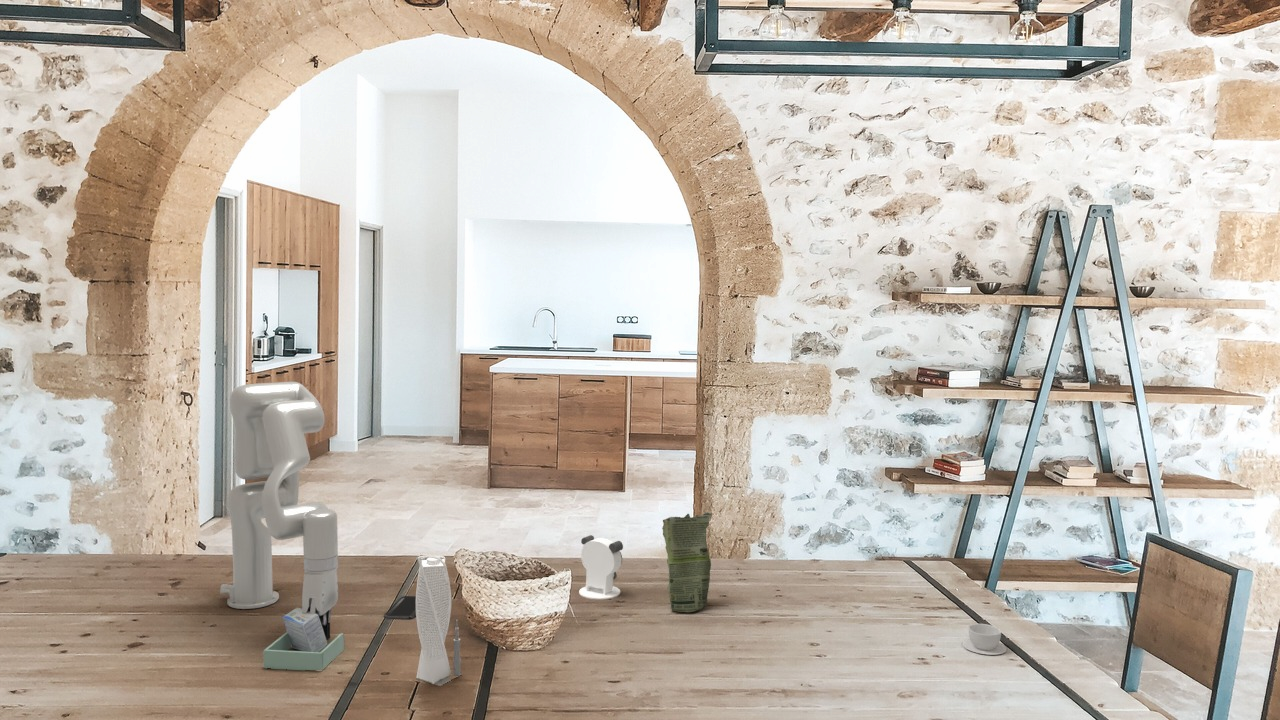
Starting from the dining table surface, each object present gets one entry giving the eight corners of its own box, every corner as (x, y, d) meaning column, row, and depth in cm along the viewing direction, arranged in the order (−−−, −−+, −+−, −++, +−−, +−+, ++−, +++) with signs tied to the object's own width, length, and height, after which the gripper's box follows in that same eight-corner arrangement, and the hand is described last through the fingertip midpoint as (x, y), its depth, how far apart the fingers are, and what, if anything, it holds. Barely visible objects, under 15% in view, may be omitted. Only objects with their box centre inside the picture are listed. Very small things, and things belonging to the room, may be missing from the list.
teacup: (985, 659, 215) (986, 639, 214) (952, 644, 223) (953, 625, 223) (1015, 652, 219) (1016, 632, 219) (982, 637, 228) (983, 619, 228)
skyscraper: (435, 690, 195) (434, 559, 193) (407, 681, 199) (406, 553, 197) (463, 676, 202) (462, 549, 200) (435, 667, 207) (435, 543, 204)
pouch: (658, 610, 243) (660, 516, 241) (674, 596, 254) (675, 506, 252) (699, 616, 239) (701, 521, 237) (713, 602, 250) (715, 510, 248)
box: (263, 668, 204) (263, 650, 204) (288, 647, 216) (288, 630, 216) (321, 671, 203) (321, 653, 203) (343, 649, 215) (343, 633, 215)
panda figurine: (630, 591, 258) (630, 538, 257) (606, 602, 249) (607, 547, 248) (594, 583, 265) (595, 531, 264) (570, 594, 255) (571, 540, 254)
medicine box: (328, 645, 214) (318, 613, 211) (312, 657, 211) (302, 624, 208) (307, 637, 219) (297, 606, 216) (291, 648, 215) (281, 616, 213)
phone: (383, 615, 235) (402, 595, 250) (383, 620, 235) (403, 599, 250) (413, 616, 235) (431, 596, 249) (413, 621, 235) (431, 600, 250)
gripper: (318, 553, 224) (320, 627, 225) (290, 572, 209) (292, 651, 211) (349, 554, 223) (350, 628, 225) (323, 573, 209) (324, 653, 210)
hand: (322, 639), depth 218 cm, fingers closed
